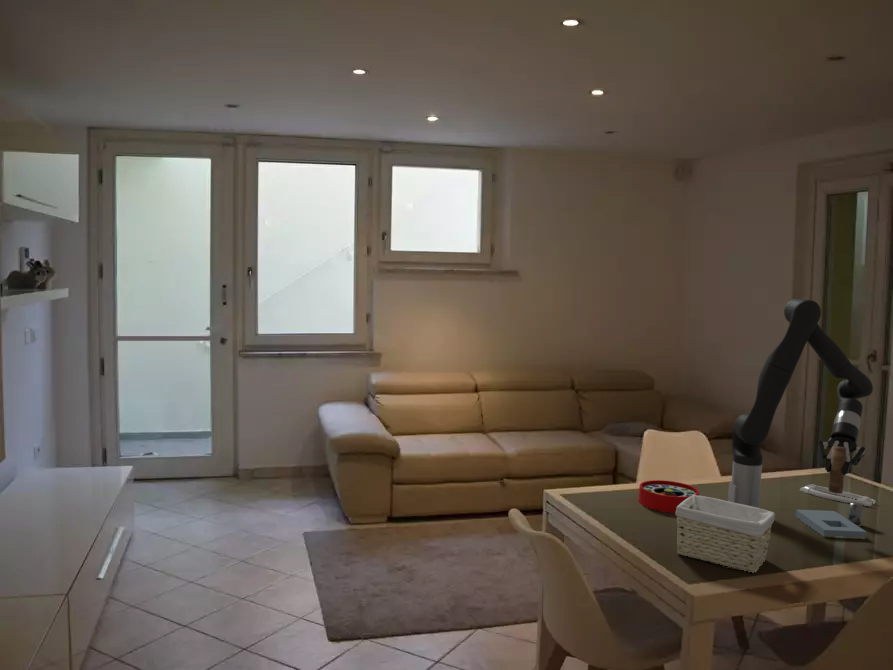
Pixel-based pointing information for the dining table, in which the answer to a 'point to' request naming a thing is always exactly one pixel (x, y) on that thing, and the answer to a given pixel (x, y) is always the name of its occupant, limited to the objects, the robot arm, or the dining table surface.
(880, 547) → the dining table surface
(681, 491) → the toy clock
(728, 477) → the dining table surface
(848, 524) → the hole board
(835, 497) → the door handle
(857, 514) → the short pin
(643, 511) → the dining table surface
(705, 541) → the storage basket
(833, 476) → the long pin
